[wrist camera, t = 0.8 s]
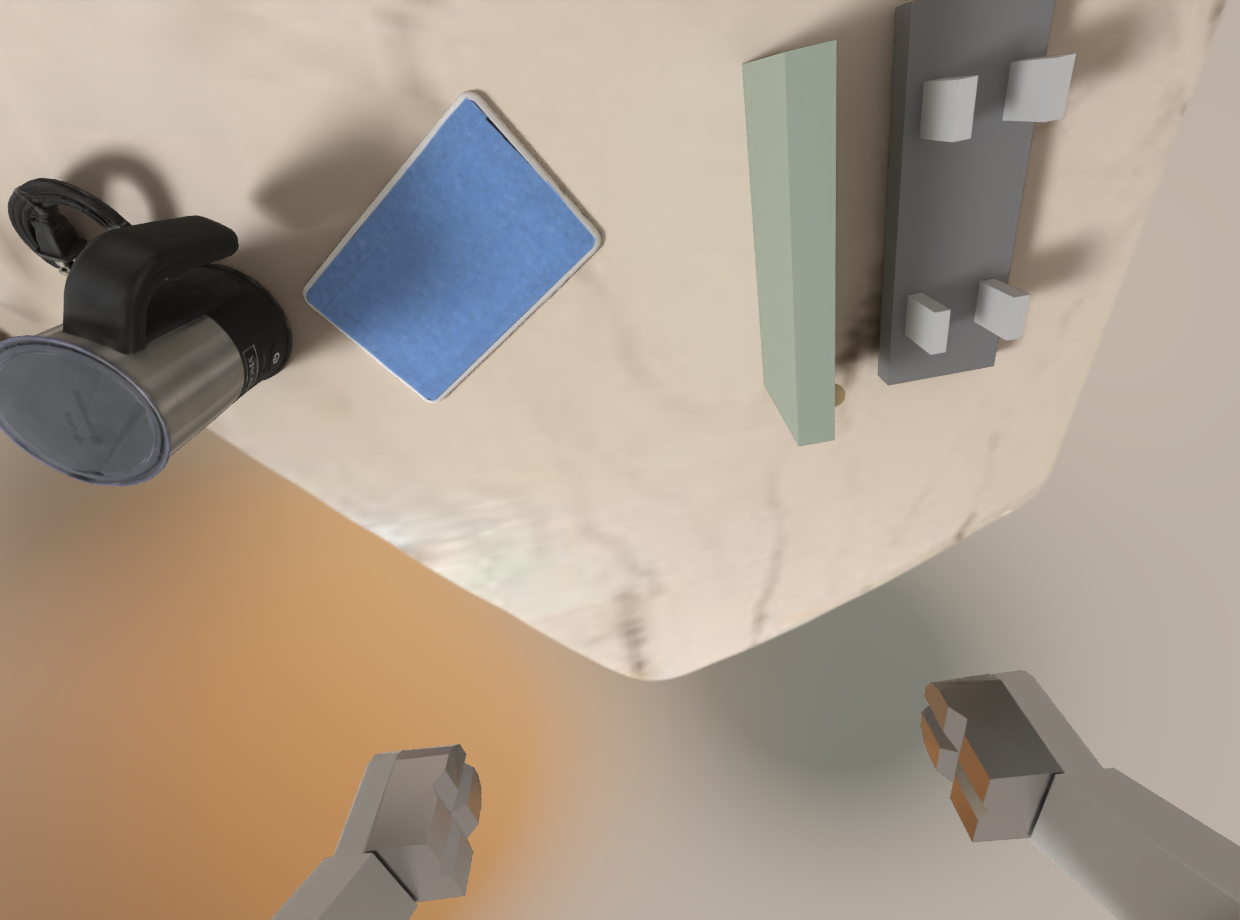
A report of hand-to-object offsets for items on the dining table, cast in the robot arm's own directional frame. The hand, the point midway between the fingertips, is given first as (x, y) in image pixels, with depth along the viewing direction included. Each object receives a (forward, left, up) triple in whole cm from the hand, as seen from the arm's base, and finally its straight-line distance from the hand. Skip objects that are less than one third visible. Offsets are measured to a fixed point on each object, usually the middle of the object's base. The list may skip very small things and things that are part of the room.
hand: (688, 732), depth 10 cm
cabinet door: (+1, +10, -37) cm, 38 cm away
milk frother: (-4, -33, -37) cm, 49 cm away
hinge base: (+1, +22, -36) cm, 43 cm away
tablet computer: (-2, -13, -37) cm, 39 cm away
